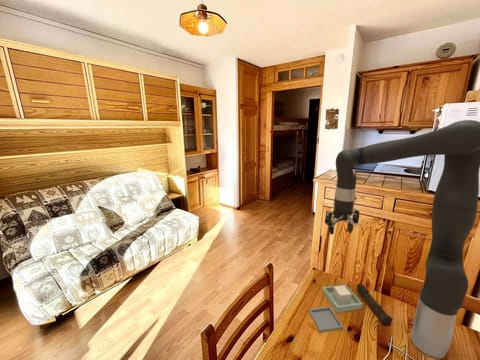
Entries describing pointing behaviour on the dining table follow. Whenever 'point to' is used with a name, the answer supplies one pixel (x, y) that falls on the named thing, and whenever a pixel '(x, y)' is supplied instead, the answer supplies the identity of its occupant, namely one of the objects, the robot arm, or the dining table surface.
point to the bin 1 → (325, 319)
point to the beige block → (342, 295)
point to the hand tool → (374, 305)
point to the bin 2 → (353, 305)
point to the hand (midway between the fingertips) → (340, 232)
